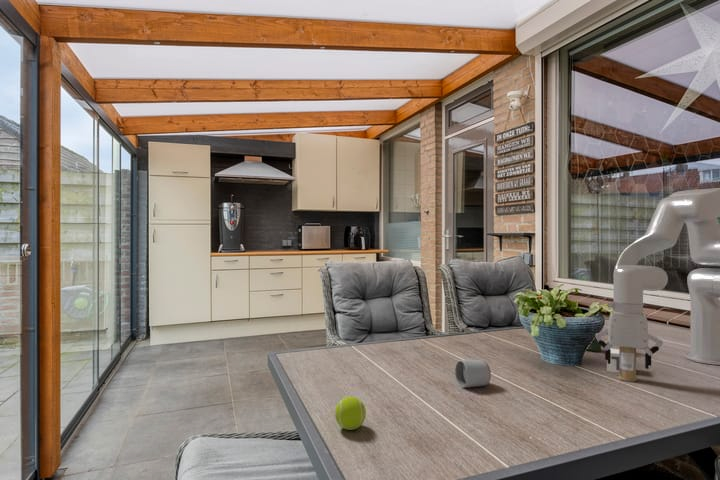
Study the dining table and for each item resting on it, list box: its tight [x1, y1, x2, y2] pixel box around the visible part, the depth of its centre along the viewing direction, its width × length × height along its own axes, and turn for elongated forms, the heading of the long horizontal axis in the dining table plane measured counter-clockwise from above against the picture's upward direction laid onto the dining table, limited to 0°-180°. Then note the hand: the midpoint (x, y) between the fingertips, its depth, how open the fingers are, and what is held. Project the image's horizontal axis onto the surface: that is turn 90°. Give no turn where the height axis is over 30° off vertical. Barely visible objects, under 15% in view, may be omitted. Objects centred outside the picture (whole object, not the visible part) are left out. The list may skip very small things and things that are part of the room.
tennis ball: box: [334, 396, 367, 431], centre depth 97 cm, size 7×7×7 cm
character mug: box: [587, 329, 604, 352], centre depth 161 cm, size 11×7×13 cm, turn 116°
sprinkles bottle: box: [618, 347, 638, 383], centre depth 129 cm, size 5×5×14 cm
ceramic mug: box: [454, 359, 492, 389], centre depth 126 cm, size 11×8×8 cm
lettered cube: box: [606, 347, 620, 374], centre depth 138 cm, size 6×6×6 cm
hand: (627, 365), depth 129 cm, fingers open, 9 cm apart
